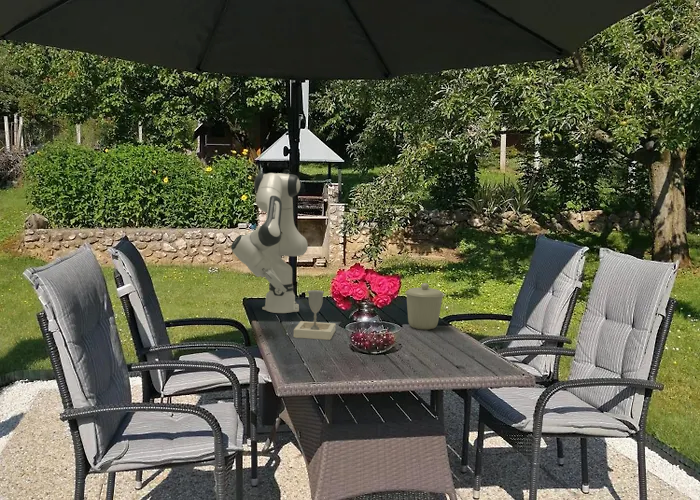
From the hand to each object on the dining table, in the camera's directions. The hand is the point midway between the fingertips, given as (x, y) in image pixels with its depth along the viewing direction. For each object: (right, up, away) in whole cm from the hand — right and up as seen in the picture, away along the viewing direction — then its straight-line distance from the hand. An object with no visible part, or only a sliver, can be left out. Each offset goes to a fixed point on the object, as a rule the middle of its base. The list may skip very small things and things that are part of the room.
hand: (283, 288), depth 299 cm
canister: (+63, -20, +23) cm, 70 cm away
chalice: (+13, -19, +3) cm, 24 cm away
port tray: (+13, -20, +3) cm, 24 cm away
